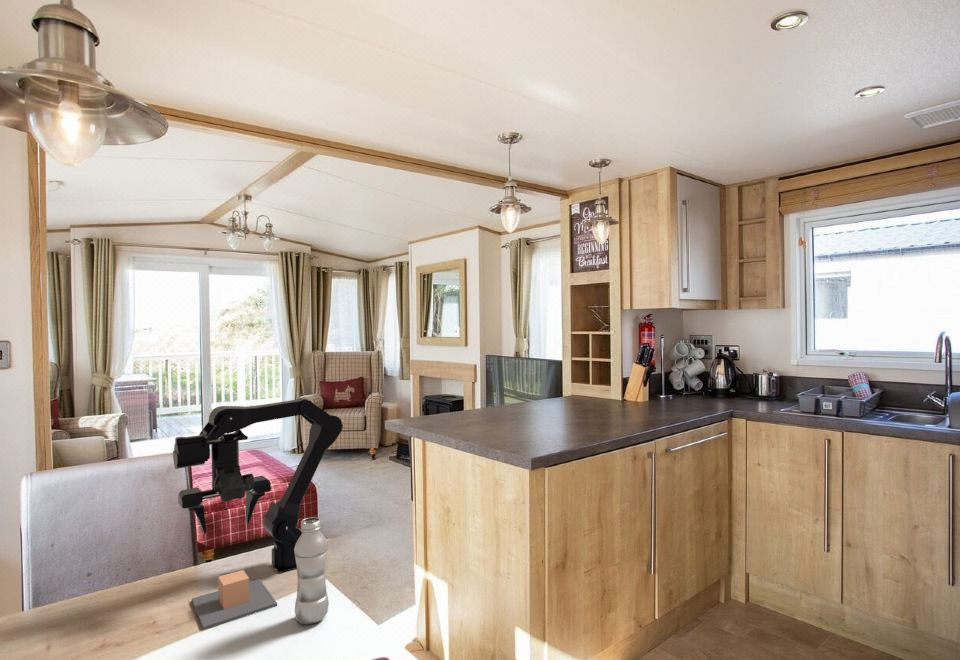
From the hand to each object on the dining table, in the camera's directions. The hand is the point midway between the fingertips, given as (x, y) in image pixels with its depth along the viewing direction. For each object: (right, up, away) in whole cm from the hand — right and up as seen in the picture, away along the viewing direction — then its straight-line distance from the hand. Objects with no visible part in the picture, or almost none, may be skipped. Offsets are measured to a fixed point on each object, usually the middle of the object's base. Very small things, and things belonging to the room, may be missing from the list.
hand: (226, 527), depth 121 cm
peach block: (+6, -12, -9) cm, 16 cm away
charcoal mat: (+6, -13, -9) cm, 17 cm away
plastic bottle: (+25, -13, -16) cm, 32 cm away
